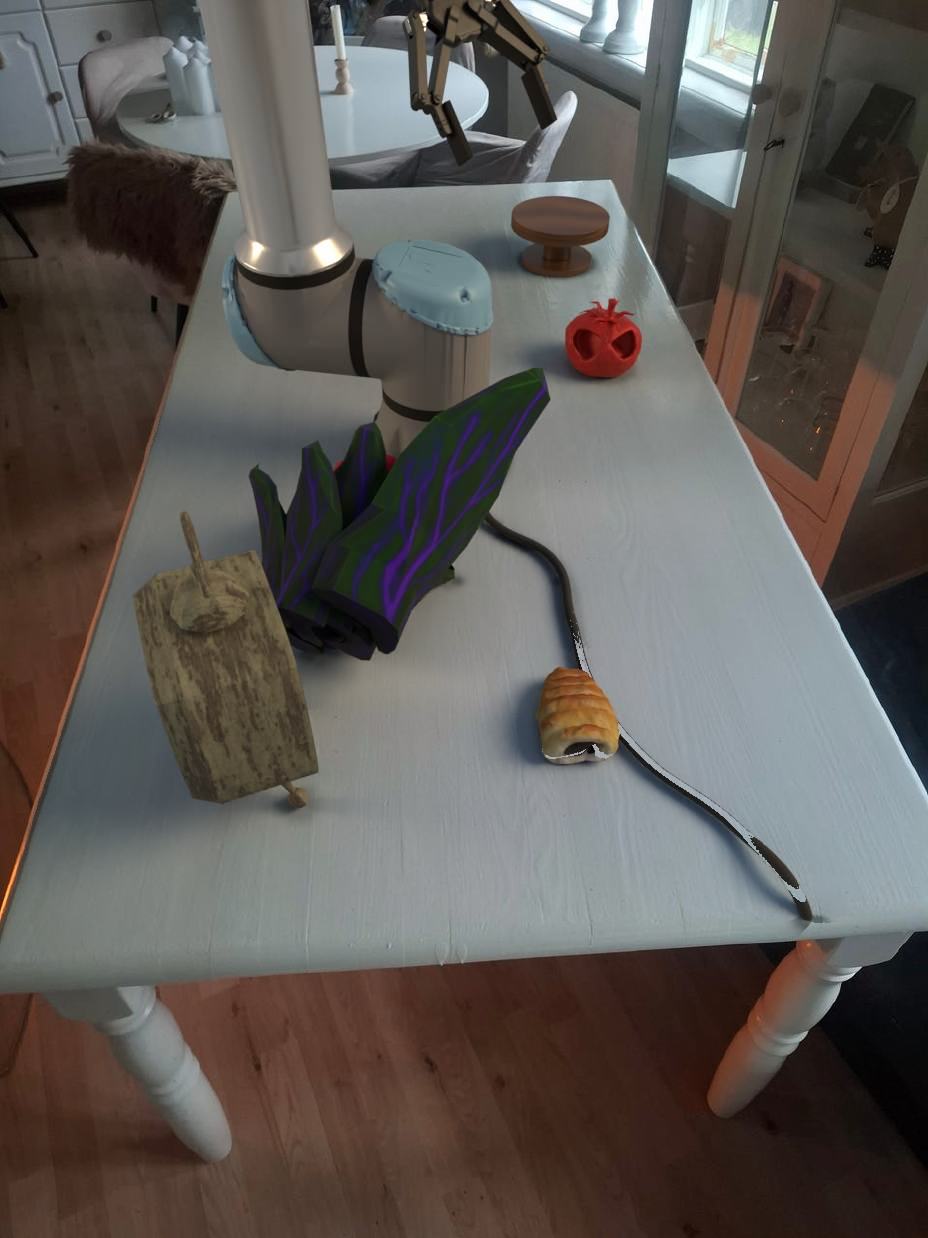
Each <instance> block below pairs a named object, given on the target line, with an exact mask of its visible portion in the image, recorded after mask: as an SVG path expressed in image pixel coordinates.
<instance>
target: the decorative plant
mask: <svg viewBox="0 0 928 1238" xmlns="http://www.w3.org/2000/svg"><path fill="white" fill-rule="evenodd" d="M550 401H552V400H551V395H550V391H549V387H548V382H547V379H546V375H545V370H544V368H543V367H532V368H529V369H526V370H524V371H523V370H522V371H520V372H517V373H515V374H512V375H508V376H506V377H503V378H502V379H499V380H498V381H496V382H494V383H493V384H490V385H489V387H487V388H485V389H484V390H482V391H480V392H478V393H476V394H474V395H473V396H471V397H469V398H467V399H465V400H463V401H462V402H460V403H458V404H456V405H454V406H452V407H451V408H449V409H447V410H445V411H443V412H441V413H440V414H438V415H436V416H435V417H434V418H433V419H432V420H431V421H430V422H429V423H428V424H427V425H426V426H425V428H424V429H423V430H422V431H421V432H420V433H419V434H418V435H417V436H416V437H415V439H414V440H413V441H412V442H411V443H410V444H409V445H408V446H407V447H406V448H405V450H404V451H403V452H402V453H401V454H400V455H399V457H398V459H397V460H396V459H395V458H394V457H393V456H391V455H388V454H386V450H385V446H384V442H383V437H382V434H381V431H380V429H379V428H378V426H377V424H376V421H375V422H373V421H371V422H369V423H365V424H362V425H359V426H358V427H357V429H356V430H355V431H354V434H353V437H352V439H351V442H350V444H349V445H348V446H349V447H348V449H347V451H346V453H345V455H344V459H341V460H339V461H337V462H336V464H335V466H334V468H333V466H332V463H331V461H330V460H329V458H328V457H327V455H326V453H325V451H324V450H323V448H322V446H321V443H320V441H319V440H318V439H317V440H315V441H314V442H312V443H309V444H308V445H306V446H304V447H302V448H301V463H300V464H301V469H300V472H299V477H298V480H297V481H298V482H297V484H296V490H295V493H294V495H293V497H292V499H291V502H290V504H289V506H288V509H287V511H286V512H285V509H284V508H283V505H282V503H281V500H280V498H279V492H278V485H276V483H275V482H274V480H273V479H272V478H271V476H270V475H269V474H268V473H266V472H265V471H264V470H262V469H261V468H260V467H259V466H260V463H261V462H259V463H258V464H256V465H255V466H254V467H253V468H251V469H250V471H249V474H248V480H249V483H250V486H251V489H252V494H253V499H254V503H255V507H256V513H257V518H258V526H259V533H260V541H261V543H260V544H261V545H260V546H261V565H262V567H263V570H264V573H265V575H266V578H267V580H268V583H269V586H270V588H271V591H272V594H273V596H274V599H275V602H276V605H277V608H278V611H279V613H280V616H281V619H282V622H283V625H284V627H285V630H286V633H287V636H288V639H289V642H290V645H291V647H293V648H295V649H297V650H299V651H301V652H303V653H306V654H307V653H308V654H313V655H317V656H318V655H323V652H324V650H325V649H326V650H338V651H340V652H342V653H344V654H347V655H349V656H351V657H353V658H355V659H358V660H360V661H368V662H370V661H371V659H372V657H373V654H374V653H375V650H376V649H377V650H378V652H380V653H382V654H384V655H389V654H391V653H393V652H394V651H396V649H397V647H398V644H399V642H400V639H401V637H402V635H403V632H404V631H405V628H406V625H407V624H408V621H409V619H410V615H411V614H412V611H413V610H414V608H415V607H416V606H417V605H418V604H420V602H421V601H422V600H423V599H424V598H425V597H426V596H427V595H428V594H429V593H430V592H431V591H432V590H434V589H436V588H437V587H440V586H441V585H443V584H445V583H446V582H449V581H453V580H455V578H456V575H455V574H456V573H455V571H456V569H455V567H454V565H453V564H454V562H456V560H457V559H458V558H459V557H460V555H461V554H463V552H464V551H465V549H466V548H468V546H469V544H470V542H471V541H472V540H473V538H474V536H475V534H476V533H477V532H478V530H479V528H480V527H481V525H482V523H483V522H484V521H485V520H484V519H485V517H486V515H487V514H488V512H490V511H491V509H492V508H493V506H494V504H495V503H496V501H497V500H498V499H499V497H500V495H501V494H500V493H501V491H502V489H503V486H504V483H505V480H506V478H507V475H508V472H509V470H510V468H511V465H512V463H513V460H514V458H515V454H516V452H517V451H518V450H519V448H520V446H521V445H522V443H523V442H524V440H525V439H526V438H527V436H528V434H529V433H530V431H532V428H533V427H534V425H535V424H536V422H537V421H538V419H539V418H540V416H541V415H542V414H543V412H544V411H545V409H546V407H547V406H548V405H549V403H550Z"/></svg>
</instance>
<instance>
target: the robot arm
mask: <svg viewBox="0 0 928 1238" xmlns="http://www.w3.org/2000/svg"><path fill="white" fill-rule="evenodd" d="M197 2H198V6H199V10H200V11H199V12H200V15H201V20H202V21H201V22H202V25H203V31H204V35H205V40H206V45H207V49H208V55H209V60H210V63H211V64H210V65H211V68H212V73H213V79H214V83H215V88H216V92H217V98H218V103H219V107H220V112H221V117H222V122H223V127H224V131H225V136H226V141H227V144H228V145H227V146H228V150H229V155H230V160H231V165H232V169H233V175H234V180H235V184H236V189H237V194H238V199H239V204H240V208H241V214H242V217H243V224H244V228H243V229H242V230H241V232H240V233H239V234H238V235H237V238H235V241H234V243H233V251H232V252H231V254H229V256H228V257H227V259H226V261H225V264H224V266H223V269H222V270H223V271H222V275H221V289H222V291H223V295H224V296H223V297H222V299H221V304H222V309H223V315H224V320H225V323H226V326H227V329H228V332H229V334H230V336H231V339H232V340H233V342H234V345H235V346H236V348H237V349H238V350H239V352H240V353H241V354H242V355H243V356H244V357H245V358H246V359H248V360H249V361H251V362H252V363H255V364H257V365H260V366H264V367H270V368H271V367H272V368H276V369H278V370H283V371H285V372H295V371H302V372H311V373H319V374H330V375H340V376H347V377H348V376H349V377H357V378H367V379H368V378H369V379H374V380H375V379H377V380H380V382H381V383H380V384H381V394H382V395H381V397H382V399H381V404H380V407H379V410H378V411H377V412H376V413H375V414H374V416H373V420H372V422H375V423H376V424H377V426H378V428H379V429H380V431H381V434H382V437H383V442H384V446H385V450H386V454H388V455H391V456H393V457H394V458H395V459H396V460H397V459H398V457H399V455H400V454H401V453H402V452H403V451H404V450H405V448H406V447H407V446H408V445H409V444H410V443H411V442H412V441H413V440H414V439H415V437H416V436H417V435H418V434H419V433H420V432H421V431H422V430H423V429H424V428H425V426H426V425H427V424H428V423H429V422H430V421H431V420H432V419H433V418H434V417H435V416H436V415H438V414H440V413H441V412H443V411H445V410H447V409H449V408H451V407H452V406H454V405H456V404H458V403H460V402H462V401H463V400H465V399H467V398H469V397H471V396H473V395H474V394H476V393H478V392H480V391H482V390H484V389H485V388H487V387H489V386H490V369H491V368H490V367H491V366H490V365H491V343H492V341H491V340H492V338H491V337H492V326H493V323H494V318H495V317H494V316H495V314H494V309H493V299H492V298H493V295H492V292H493V291H492V282H491V278H490V275H489V272H488V271H487V269H486V268H485V266H484V265H483V264H482V262H480V261H478V260H477V259H476V258H475V257H474V256H473V255H472V254H470V253H469V252H467V251H465V250H463V249H461V248H459V247H457V246H454V245H451V244H447V243H444V242H440V241H434V240H430V239H419V238H418V239H417V238H416V239H414V238H413V239H412V238H411V239H408V240H407V242H406V241H402V240H396V241H393V242H389V243H387V244H385V245H384V246H382V247H381V248H380V249H379V250H377V252H376V254H375V256H374V258H364V257H357V256H356V251H355V241H354V237H353V233H352V231H351V230H350V228H349V227H348V226H347V225H346V224H344V223H343V222H342V221H341V220H339V219H338V218H336V215H335V213H336V212H335V207H334V199H333V198H334V197H333V191H332V182H331V174H330V165H329V159H328V158H329V157H328V150H327V141H326V134H325V124H324V117H323V108H322V101H321V100H322V99H321V94H320V84H319V76H318V69H317V61H316V52H315V44H314V43H315V42H314V36H313V29H312V28H313V27H312V19H311V13H310V12H311V11H310V5H309V0H197ZM414 2H415V3H416V5H417V7H418V8H420V10H421V12H419V11H418V10H417V9H412V10H411V11H410V12H409V13H408V15H407V16H406V17H405V19H404V20H403V21H402V22H401V26H402V30H403V33H404V36H405V40H406V42H407V57H408V58H407V61H408V62H407V63H408V83H409V102H410V103H409V105H410V108H411V110H412V111H413V112H418V111H422V113H423V114H424V115H426V116H429V115H430V116H431V118H432V121H433V123H434V126H435V128H436V130H437V132H438V135H439V136H440V138H441V139H446V141H447V144H448V146H449V148H450V150H451V152H452V155H453V157H454V159H455V162H456V164H457V166H458V167H461V166H463V165H465V164H466V163H468V161H470V160H471V159H472V158H473V157H474V153H473V151H472V149H471V146H470V144H469V141H468V139H467V137H466V134H465V132H464V130H463V127H462V125H461V123H460V120H459V118H458V115H457V113H456V111H455V108H454V106H453V104H452V101H451V99H448V100H446V101H444V102H443V100H444V95H445V90H446V89H445V88H446V83H447V78H448V71H449V66H450V59H451V54H452V49H457V48H459V47H460V46H461V45H462V44H470V43H473V42H474V41H475V40H477V41H478V42H480V43H486V44H487V45H488V46H490V47H491V48H492V49H494V50H495V51H496V52H498V53H499V54H501V56H503V57H504V58H506V60H508V61H510V63H512V64H514V65H515V66H516V67H518V68H519V69H521V70H522V71H523V72H524V74H522V75H521V76H520V79H521V82H522V84H523V87H524V89H525V93H526V95H527V97H528V99H529V102H530V104H531V107H532V110H533V112H534V115H535V117H536V120H537V122H538V125H539V127H540V128H539V129H540V131H543V130H546V129H547V128H548V127H550V126H551V125H553V123H555V122H556V121H558V120H559V119H558V117H557V114H556V111H555V109H554V107H553V103H552V101H551V99H550V96H549V92H550V85H549V82H548V81H547V78H546V74H545V73H544V69H543V67H542V62H543V61H544V60H545V58H546V56H547V55H549V54H550V51H551V50H550V46H549V44H548V43H547V42H546V41H545V40H544V38H543V37H542V36H541V35H540V34H539V33H538V32H537V30H536V29H535V28H534V27H533V26H532V25H531V23H530V22H529V21H528V20H527V19H526V18H525V16H524V15H523V14H522V13H521V12H520V11H519V10H518V8H517V7H516V6H515V5H514V3H513V2H512V1H511V0H414ZM427 30H429V31H430V32H431V33H432V34H433V35H435V36H434V41H433V47H432V54H433V56H432V61H431V67H430V74H429V79H428V63H427V39H426V31H427ZM483 521H485V523H487V525H488V526H490V527H491V528H492V529H493V530H495V532H497V533H499V534H500V535H502V536H504V537H505V538H507V539H510V540H512V541H514V542H516V543H518V544H520V545H523V546H525V547H527V548H528V549H529V548H530V549H531V550H533V551H535V552H537V553H538V554H540V555H541V556H543V557H544V558H545V559H546V560H547V561H548V563H550V564H551V566H552V567H553V570H555V572H556V574H557V576H558V579H559V582H560V583H559V584H560V587H561V594H562V595H561V596H562V603H563V610H564V615H565V619H566V623H567V626H568V630H569V635H570V638H571V643H572V649H573V652H574V658H575V661H576V665H577V669H579V670H582V667H581V664H580V660H579V657H578V653H577V649H576V644H575V640H576V641H577V643H579V638H580V640H581V643H580V645H581V644H582V648H583V653H584V656H585V660H586V663H587V666H588V669H589V672H590V674H591V676H592V678H593V680H594V681H595V678H594V677H593V674H592V671H591V669H590V667H589V664H588V659H587V657H586V652H585V649H584V643H583V640H582V635H581V631H580V627H579V623H578V620H577V616H576V613H575V608H574V603H573V594H572V588H571V582H570V578H569V575H568V572H567V570H566V568H565V566H564V565H563V563H562V561H561V560H560V558H559V557H558V556H557V555H556V554H555V553H554V552H553V551H551V550H550V549H549V548H548V547H546V546H545V545H543V544H542V543H541V542H538V541H536V540H534V539H533V538H530V537H527V536H526V535H523V534H521V533H519V532H517V531H514V530H512V529H510V528H508V527H507V526H506V525H503V524H502V523H501V522H499V520H498V519H496V518H495V517H494V516H493V515H492V513H491V512H490V511H489V512H488V514H487V515H486V517H485V519H484V520H483ZM573 612H574V613H573ZM570 620H571V621H570ZM576 623H577V624H576ZM571 626H572V627H571ZM578 631H579V635H580V636H579V635H578ZM573 633H574V635H575V636H576V637H575V636H574V635H573ZM577 636H578V638H577ZM574 639H575V640H574ZM579 648H580V646H579ZM582 661H583V660H582ZM617 721H618V723H619V724H620V725H621V726H622V724H621V723H620V722H619V720H618V719H617ZM622 728H623V729H624V730H625V731H626V733H627V734H628V735H629V736H630V737H631V738H632V739H633V737H632V736H631V735H630V733H628V732H627V730H626V729H625V728H624V727H623V726H622ZM618 741H620V742H621V744H622V745H623V746H624V747H625V748H626V749H627V751H629V752H630V753H631V755H632V756H633V757H634V758H635V759H636V760H637V761H638V762H639V763H640V764H641V765H643V766H644V768H645V769H646V770H648V771H649V772H650V773H651V774H653V775H654V776H655V777H656V778H658V779H659V780H660V781H661V782H663V783H665V785H667V786H669V787H670V788H672V789H673V790H674V791H676V792H677V793H679V794H681V795H682V796H684V797H685V798H687V799H688V800H690V801H692V802H694V803H695V804H696V805H698V806H699V807H701V808H702V809H703V810H705V811H706V812H707V813H709V814H710V815H712V816H713V817H714V818H715V819H717V820H718V821H719V822H720V823H721V824H722V825H724V826H725V827H726V828H727V829H728V830H729V831H731V832H732V833H733V834H734V835H735V836H736V837H737V838H738V839H740V840H741V841H742V842H743V843H744V844H745V845H746V846H747V847H749V848H750V849H751V850H752V851H754V853H756V854H757V855H758V856H759V854H758V853H757V852H756V851H755V850H754V849H753V848H752V847H751V846H750V845H749V844H748V842H747V841H746V840H745V839H744V838H743V836H742V835H741V834H740V833H739V832H738V831H737V830H736V829H735V828H734V827H733V826H732V825H731V824H730V823H729V822H728V821H727V820H726V819H725V818H724V817H723V816H721V815H720V814H719V813H718V812H716V811H715V810H714V809H712V808H711V807H710V806H708V805H707V804H705V803H704V802H703V801H701V800H700V799H698V798H697V797H695V796H693V795H692V794H690V793H689V792H687V791H686V790H684V789H683V788H681V787H679V786H678V785H676V784H675V783H673V782H672V781H670V780H669V779H668V778H666V777H665V776H663V775H662V774H661V773H659V772H658V771H657V770H655V769H654V768H653V767H652V766H651V765H650V764H648V763H647V762H646V761H645V760H644V759H643V758H642V757H641V756H640V755H639V754H638V753H637V752H636V751H635V750H634V749H633V748H632V747H631V746H630V745H629V743H628V742H627V741H626V740H625V739H624V738H623V737H622V736H621V734H620V735H619V739H618ZM635 743H636V744H637V745H638V746H639V747H640V748H641V749H642V750H643V751H644V752H645V753H646V754H647V755H648V756H649V757H650V758H652V757H651V756H650V755H649V754H648V753H647V752H646V751H645V750H644V749H643V748H642V746H640V745H639V744H638V743H637V742H636V741H635ZM654 761H655V762H656V763H657V764H658V765H660V764H659V763H658V762H657V761H656V760H654ZM661 767H662V768H663V769H665V768H664V767H663V766H661ZM665 770H666V771H667V772H669V771H668V770H667V769H665ZM669 773H670V774H672V773H671V772H669ZM672 775H673V776H675V775H674V774H672ZM675 777H676V778H678V777H677V776H675ZM678 779H679V780H681V779H680V778H678ZM681 781H682V782H684V781H683V780H681ZM684 783H685V784H687V783H686V782H684ZM687 785H688V786H690V787H692V786H691V785H689V784H687ZM692 788H693V789H695V788H694V787H692ZM695 790H696V791H698V790H697V789H695ZM698 792H699V793H701V794H703V793H702V792H700V791H698ZM703 795H704V796H705V797H707V798H708V799H710V800H711V801H713V800H712V799H711V798H709V797H708V796H707V795H705V794H703ZM713 802H714V803H715V804H717V803H716V802H715V801H713ZM717 805H718V806H719V807H721V806H720V805H719V804H717ZM721 808H722V807H721ZM722 809H723V810H725V809H724V808H722ZM726 812H727V813H728V814H729V815H730V816H732V814H730V813H729V812H728V811H726ZM733 818H734V819H735V820H736V821H737V822H739V821H738V820H737V819H736V818H735V817H733ZM741 825H742V826H743V827H745V826H744V825H743V824H741ZM748 831H749V832H751V831H750V830H748ZM749 836H750V835H749ZM751 837H752V836H751ZM755 837H756V836H755ZM755 837H753V838H750V839H751V840H752V841H751V842H752V843H753V842H754V843H753V845H754V846H756V850H759V853H760V854H762V857H764V858H765V860H767V862H768V863H769V864H770V865H771V866H772V868H774V869H775V871H776V872H777V873H778V874H779V876H781V878H782V879H783V880H784V881H785V882H787V884H788V885H791V886H792V887H794V888H795V889H799V885H800V883H799V881H798V880H797V878H796V877H795V875H794V873H792V871H791V870H790V869H789V867H788V866H787V864H785V863H784V861H783V860H782V859H781V858H780V857H779V856H778V855H777V854H776V853H775V852H774V851H773V850H771V849H770V848H769V846H767V845H766V844H765V843H764V842H762V841H761V840H760V839H759V838H758V837H757V838H758V839H759V840H758V839H757V838H755ZM763 843H764V844H765V845H764V844H763ZM772 868H771V869H772ZM775 871H774V872H775ZM776 872H775V873H776ZM779 876H778V877H779ZM797 881H798V882H797ZM798 883H799V884H798ZM797 887H798V888H797ZM787 891H788V893H789V894H790V896H791V898H792V900H793V903H794V905H795V907H796V909H797V912H798V915H799V916H800V917H801V919H803V920H804V921H806V922H811V921H812V920H813V911H812V909H811V905H810V903H809V901H808V898H807V896H806V895H805V897H806V901H805V902H800V901H799V900H797V899H796V898H795V897H793V895H792V894H791V893H790V891H789V890H788V889H787Z"/></svg>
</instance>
